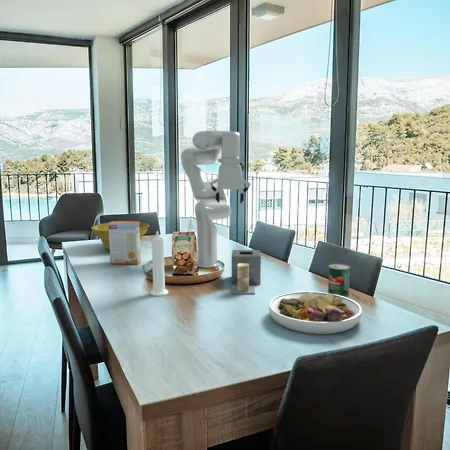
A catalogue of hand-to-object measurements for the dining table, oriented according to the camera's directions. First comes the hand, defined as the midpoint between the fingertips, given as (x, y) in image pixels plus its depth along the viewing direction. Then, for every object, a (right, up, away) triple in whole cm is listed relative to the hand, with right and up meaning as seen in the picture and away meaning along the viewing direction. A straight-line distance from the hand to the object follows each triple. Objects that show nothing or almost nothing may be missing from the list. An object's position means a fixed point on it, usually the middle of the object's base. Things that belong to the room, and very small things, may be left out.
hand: (229, 202), depth 192 cm
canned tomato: (+42, -36, -15) cm, 58 cm away
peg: (+5, -35, -11) cm, 37 cm away
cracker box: (-51, -29, +34) cm, 68 cm away
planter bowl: (-61, -23, +66) cm, 93 cm away
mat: (+5, -36, -11) cm, 38 cm away
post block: (+7, -33, +3) cm, 34 cm away
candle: (-28, -37, -14) cm, 48 cm away
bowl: (+28, -41, -41) cm, 65 cm away
